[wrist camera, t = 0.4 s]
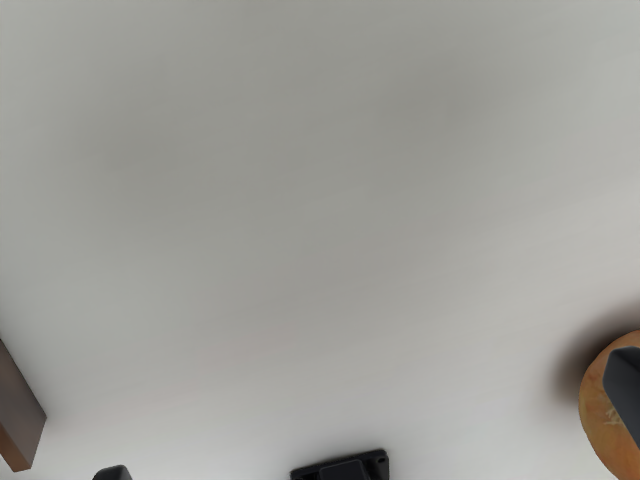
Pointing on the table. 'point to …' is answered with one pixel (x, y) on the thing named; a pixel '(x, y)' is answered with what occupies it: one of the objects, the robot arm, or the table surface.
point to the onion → (608, 417)
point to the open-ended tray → (17, 416)
